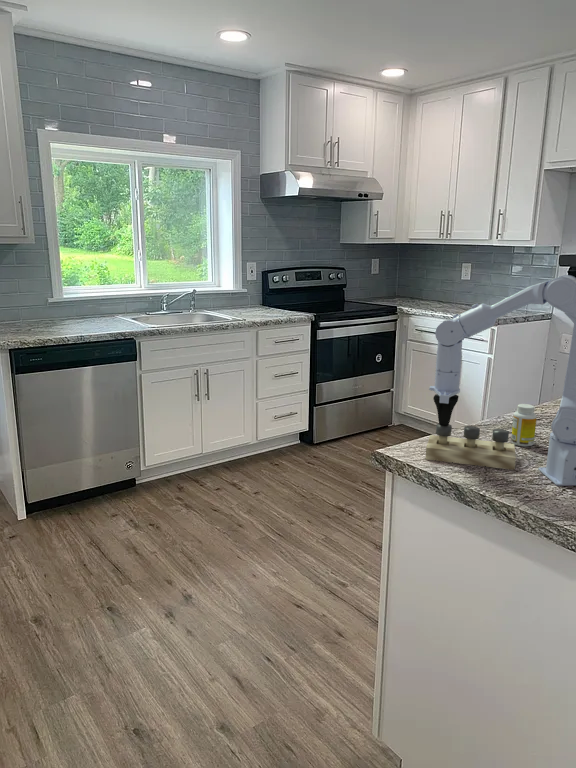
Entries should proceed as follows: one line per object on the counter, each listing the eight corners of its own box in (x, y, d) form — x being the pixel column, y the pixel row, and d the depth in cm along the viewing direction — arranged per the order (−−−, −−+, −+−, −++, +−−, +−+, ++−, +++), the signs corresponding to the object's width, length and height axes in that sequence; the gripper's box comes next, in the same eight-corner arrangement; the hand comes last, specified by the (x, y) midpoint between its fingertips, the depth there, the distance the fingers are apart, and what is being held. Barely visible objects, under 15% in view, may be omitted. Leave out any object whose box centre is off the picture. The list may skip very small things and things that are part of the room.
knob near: (506, 450, 138) (508, 429, 137) (507, 455, 135) (509, 434, 134) (490, 448, 139) (492, 428, 138) (490, 453, 136) (492, 432, 135)
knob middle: (478, 447, 140) (480, 426, 139) (478, 452, 137) (479, 431, 136) (462, 445, 141) (464, 425, 140) (462, 450, 138) (463, 429, 137)
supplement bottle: (537, 444, 149) (542, 406, 147) (526, 448, 146) (530, 410, 143) (517, 438, 153) (521, 401, 151) (506, 443, 150) (510, 405, 148)
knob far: (450, 444, 142) (452, 424, 141) (449, 448, 139) (451, 428, 138) (435, 442, 143) (437, 422, 142) (434, 447, 140) (435, 426, 139)
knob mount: (512, 455, 141) (514, 443, 140) (514, 469, 132) (515, 457, 131) (429, 446, 147) (430, 435, 147) (425, 459, 138) (426, 447, 137)
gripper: (433, 363, 145) (430, 415, 148) (427, 375, 131) (424, 431, 134) (462, 365, 142) (458, 417, 146) (459, 377, 129) (455, 435, 132)
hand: (443, 424), depth 140 cm, fingers closed
